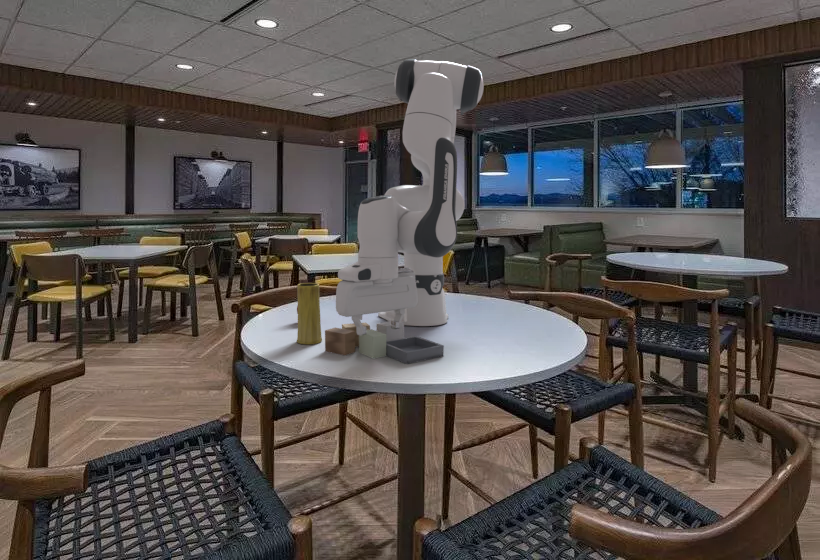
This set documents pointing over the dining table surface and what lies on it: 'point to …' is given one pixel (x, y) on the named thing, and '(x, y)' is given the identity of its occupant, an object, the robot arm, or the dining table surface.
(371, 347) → the block sage
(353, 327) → the block oak
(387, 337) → the block grey
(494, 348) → the dining table surface
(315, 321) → the vase
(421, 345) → the slate dish
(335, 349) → the block walnut
